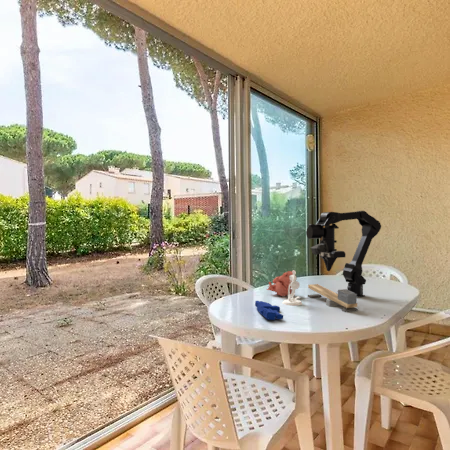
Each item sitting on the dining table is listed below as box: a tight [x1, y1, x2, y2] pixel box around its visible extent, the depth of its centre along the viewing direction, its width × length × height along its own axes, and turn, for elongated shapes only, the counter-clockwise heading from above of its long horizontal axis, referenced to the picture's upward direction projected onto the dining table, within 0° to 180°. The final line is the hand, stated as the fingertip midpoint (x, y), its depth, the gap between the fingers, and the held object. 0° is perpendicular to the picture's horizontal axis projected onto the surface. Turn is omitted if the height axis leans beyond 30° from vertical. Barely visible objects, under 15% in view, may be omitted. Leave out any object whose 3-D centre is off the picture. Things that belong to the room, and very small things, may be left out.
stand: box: [307, 293, 359, 313], centre depth 152 cm, size 7×29×2 cm, turn 17°
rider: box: [337, 288, 358, 304], centre depth 141 cm, size 4×7×4 cm, turn 16°
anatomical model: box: [266, 270, 297, 297], centre depth 170 cm, size 10×12×15 cm
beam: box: [307, 283, 358, 308], centre depth 152 cm, size 5×30×2 cm, turn 17°
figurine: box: [282, 269, 303, 307], centre depth 154 cm, size 9×9×15 cm
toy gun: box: [254, 300, 284, 321], centre depth 137 cm, size 4×22×10 cm
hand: (328, 270), depth 162 cm, fingers closed
